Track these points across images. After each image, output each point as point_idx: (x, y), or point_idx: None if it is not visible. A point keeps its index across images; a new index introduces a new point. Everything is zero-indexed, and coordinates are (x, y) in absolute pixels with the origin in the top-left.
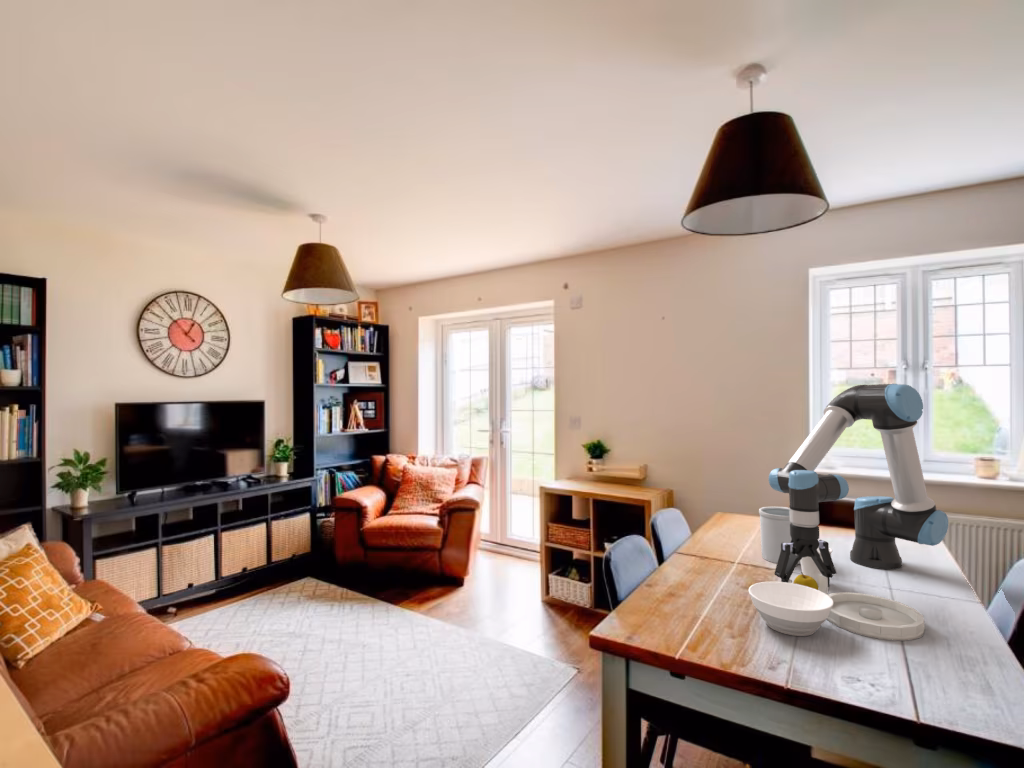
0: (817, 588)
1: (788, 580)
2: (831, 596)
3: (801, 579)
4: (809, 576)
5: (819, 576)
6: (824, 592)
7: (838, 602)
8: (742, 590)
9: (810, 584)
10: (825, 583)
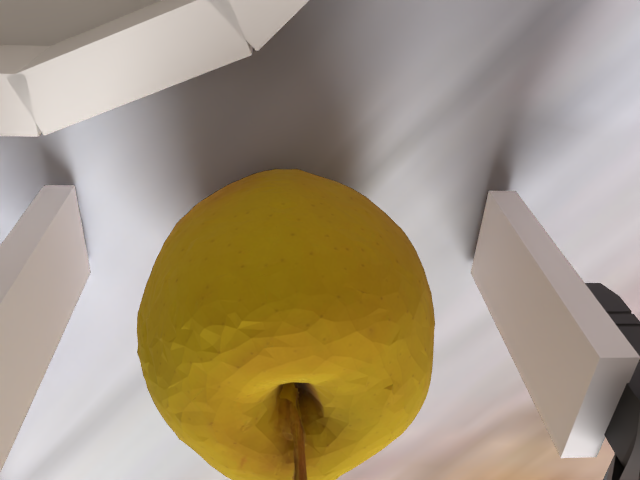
0: (208, 222)
1: (627, 372)
2: (101, 38)
3: (399, 377)
4: (218, 426)
5: (5, 439)
6: (52, 246)
7: (5, 23)
8: None
9: (338, 255)
10: (3, 302)
